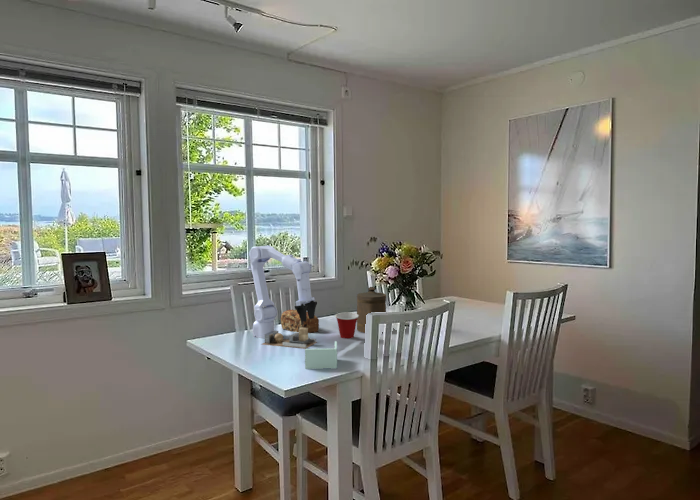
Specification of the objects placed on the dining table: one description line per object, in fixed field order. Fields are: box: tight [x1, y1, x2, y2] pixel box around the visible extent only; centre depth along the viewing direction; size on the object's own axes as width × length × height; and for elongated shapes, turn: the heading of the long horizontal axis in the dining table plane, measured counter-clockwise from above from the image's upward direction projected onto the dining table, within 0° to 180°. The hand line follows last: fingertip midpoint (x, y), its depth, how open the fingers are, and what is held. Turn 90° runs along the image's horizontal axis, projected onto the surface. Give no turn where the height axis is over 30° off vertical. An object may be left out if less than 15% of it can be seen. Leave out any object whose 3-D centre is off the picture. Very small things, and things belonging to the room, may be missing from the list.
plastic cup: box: [335, 311, 358, 339], centre depth 230 cm, size 11×11×12 cm
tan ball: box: [274, 332, 284, 343], centre depth 222 cm, size 4×4×4 cm
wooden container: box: [356, 286, 387, 334], centre depth 249 cm, size 15×15×22 cm
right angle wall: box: [304, 340, 338, 370], centre depth 194 cm, size 12×12×8 cm
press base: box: [261, 330, 318, 350], centre depth 220 cm, size 22×12×6 cm, turn 68°
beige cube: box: [288, 328, 311, 345], centre depth 218 cm, size 7×7×7 cm
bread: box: [280, 309, 320, 334], centre depth 250 cm, size 19×11×10 cm, turn 45°
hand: (307, 320), depth 217 cm, fingers open, 7 cm apart
